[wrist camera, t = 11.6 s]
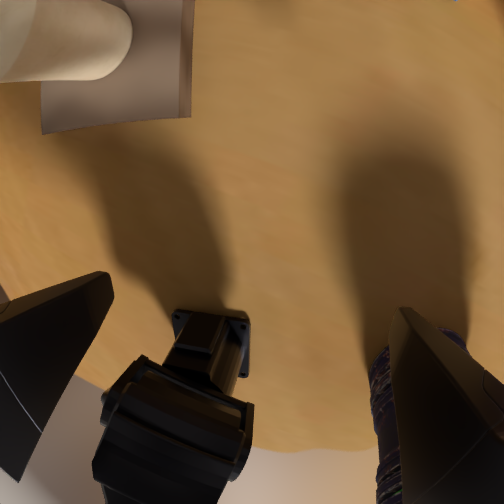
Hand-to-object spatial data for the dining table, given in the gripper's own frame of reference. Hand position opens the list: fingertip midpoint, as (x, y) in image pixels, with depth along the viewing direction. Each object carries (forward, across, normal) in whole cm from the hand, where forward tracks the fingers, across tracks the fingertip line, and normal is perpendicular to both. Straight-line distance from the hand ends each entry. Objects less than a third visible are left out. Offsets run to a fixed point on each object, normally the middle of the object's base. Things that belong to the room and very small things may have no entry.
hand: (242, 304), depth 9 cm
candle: (+10, +12, -11) cm, 19 cm away
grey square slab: (+12, +12, -11) cm, 20 cm away
